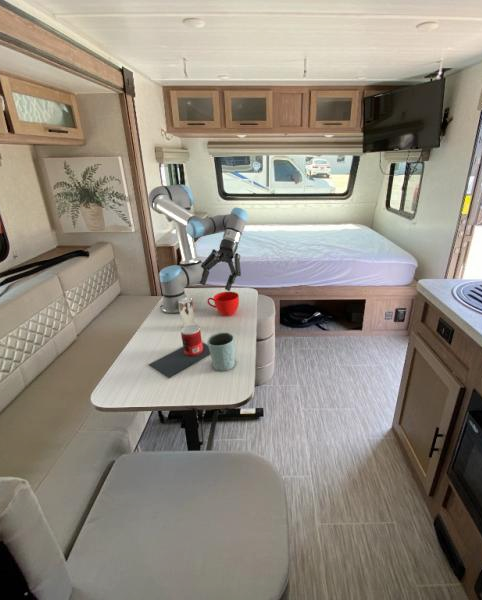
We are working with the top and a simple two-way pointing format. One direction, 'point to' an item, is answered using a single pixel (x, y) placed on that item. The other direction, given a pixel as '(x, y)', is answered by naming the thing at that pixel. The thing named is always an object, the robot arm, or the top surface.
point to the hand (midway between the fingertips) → (214, 287)
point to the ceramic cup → (225, 302)
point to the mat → (178, 361)
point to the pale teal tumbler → (222, 351)
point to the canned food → (191, 340)
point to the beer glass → (187, 311)
